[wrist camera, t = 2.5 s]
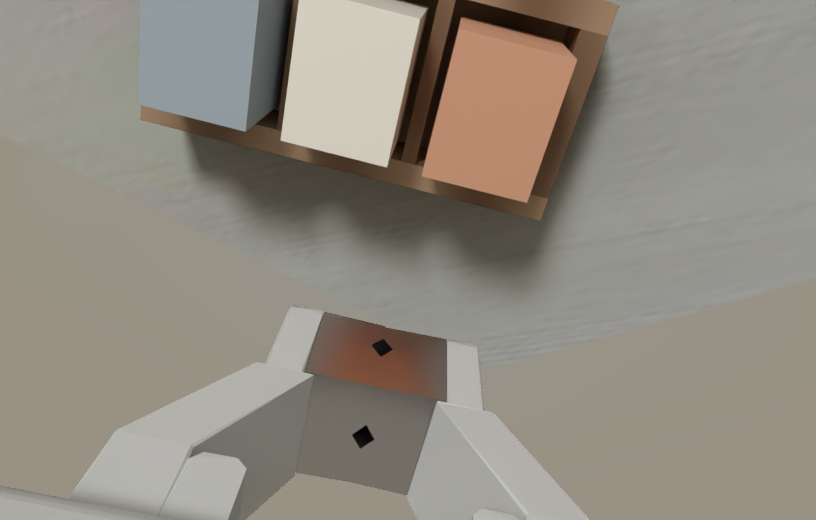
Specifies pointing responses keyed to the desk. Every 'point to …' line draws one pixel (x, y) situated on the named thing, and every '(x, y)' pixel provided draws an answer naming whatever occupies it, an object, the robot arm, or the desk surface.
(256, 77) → the slate key
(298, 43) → the ivory key
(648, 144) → the desk surface
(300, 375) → the robot arm
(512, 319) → the desk surface
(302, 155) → the wooden compartment tray
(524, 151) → the terracotta key
